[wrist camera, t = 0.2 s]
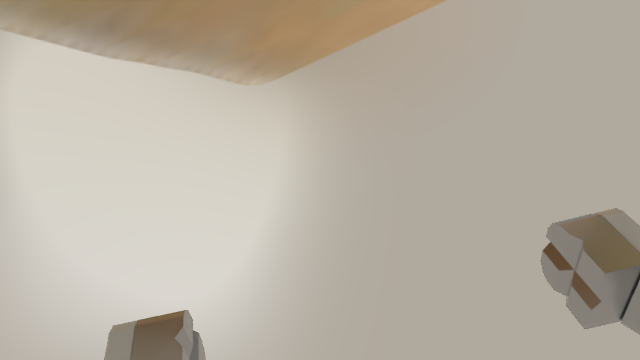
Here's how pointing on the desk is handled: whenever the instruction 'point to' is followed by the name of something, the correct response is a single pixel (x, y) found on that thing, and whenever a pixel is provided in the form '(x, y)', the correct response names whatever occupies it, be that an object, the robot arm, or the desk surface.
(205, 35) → the desk surface
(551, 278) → the robot arm
